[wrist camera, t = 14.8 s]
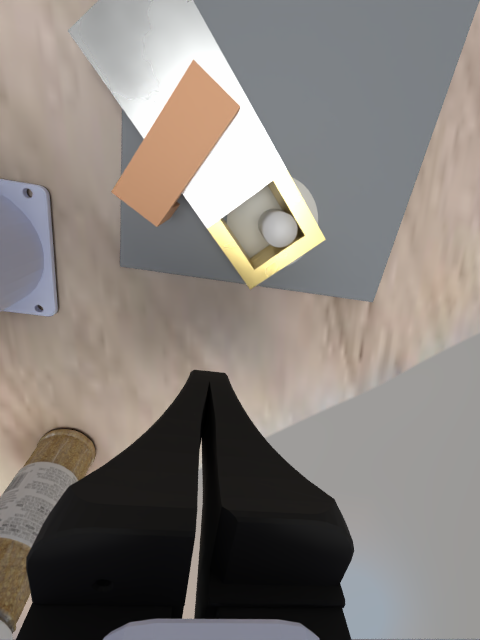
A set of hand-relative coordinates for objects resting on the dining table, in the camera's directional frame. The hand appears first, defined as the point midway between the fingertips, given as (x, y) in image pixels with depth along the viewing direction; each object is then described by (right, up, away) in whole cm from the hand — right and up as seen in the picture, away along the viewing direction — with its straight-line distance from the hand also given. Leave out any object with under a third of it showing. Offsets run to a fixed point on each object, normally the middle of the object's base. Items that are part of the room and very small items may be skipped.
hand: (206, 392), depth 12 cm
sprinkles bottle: (-13, -8, +14) cm, 20 cm away
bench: (+3, +13, +5) cm, 15 cm away
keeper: (-2, +12, +5) cm, 14 cm away
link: (0, +12, +5) cm, 13 cm away
